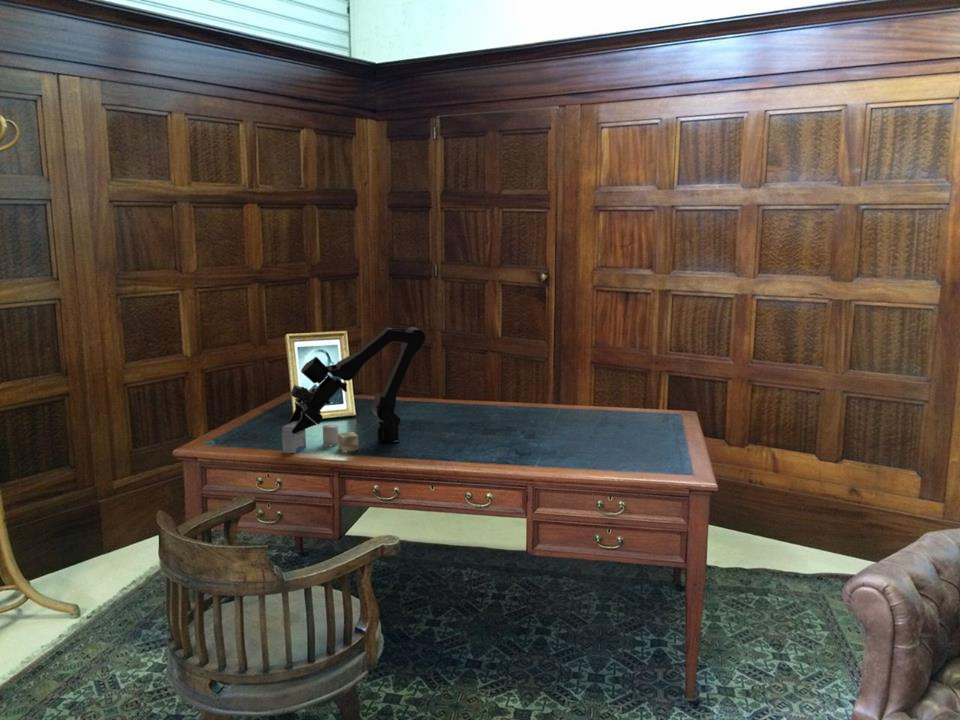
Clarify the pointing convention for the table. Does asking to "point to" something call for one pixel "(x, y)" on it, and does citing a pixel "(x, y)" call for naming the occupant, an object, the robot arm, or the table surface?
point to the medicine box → (293, 439)
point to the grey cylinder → (330, 434)
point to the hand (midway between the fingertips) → (290, 429)
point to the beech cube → (348, 441)
